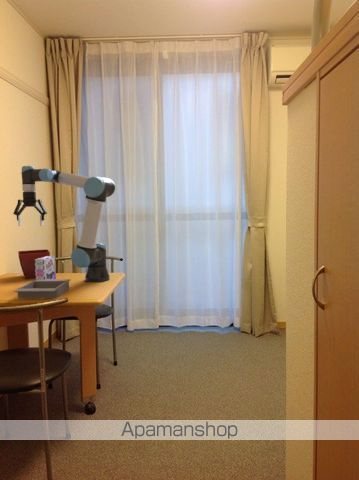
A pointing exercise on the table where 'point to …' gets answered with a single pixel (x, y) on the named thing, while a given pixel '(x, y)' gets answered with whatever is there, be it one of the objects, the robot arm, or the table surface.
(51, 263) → the candy box
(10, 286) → the table surface
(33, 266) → the plant pot
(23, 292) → the grey rectangular frame
